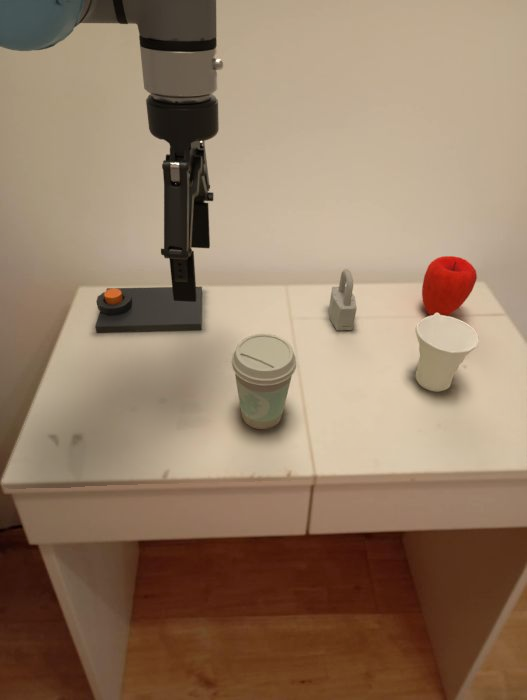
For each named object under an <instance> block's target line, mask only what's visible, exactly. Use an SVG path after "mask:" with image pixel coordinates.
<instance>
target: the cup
mask: <svg viewBox="0 0 527 700" xmlns="http://www.w3.org/2000/svg"><path fill="white" fill-rule="evenodd" d="M415 333H416V338H417V342H418V347H419V348H418V351H419V357H418V361H417V362H418V363H417V368H416V372H415V380H416V381H417V383H418V384H419V386H420V387H422V388H423V389H425V390H427V391H429V392H439V393H440V392H443V391H446V390H448V389H449V388H450V387H451V386H452V382H453V378H454V376H455V373H456V371H458V368H459V367H460V365H461V364H462V363H463V361H464V360H465V358H466V357H467V356H469V354H470V353H472V352H473V351H474V350H475V349H476V348H477V347H478V345H479V339H480V338H479V335H478V333H477V332H476V330H475V329H474V328H473V327H472V326H471V325H469V324H468V323H467V322H465V321H463V320H461V319H459V318H456V317H453V316H450V315H449V316H443V315H440V314H439V313H435V314H434V315H432V316H431V315H428V316H426V317H424V318H422V319H420V320H419V321H418V323H417V324H416V327H415Z"/></svg>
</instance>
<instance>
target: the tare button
mask: <svg viewBox="0 0 527 700" xmlns="http://www.w3.org/2000/svg"><path fill="white" fill-rule="evenodd" d="M104 292H105V293H104V297H105V301H106V303H107V304H118V303H120V302H122V300H123V298H122V292H121V291H120V290H119V289H109V290H107V291H106V290H105V291H104Z"/></svg>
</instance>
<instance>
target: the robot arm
mask: <svg viewBox="0 0 527 700" xmlns="http://www.w3.org/2000/svg"><path fill="white" fill-rule="evenodd" d="M80 24H120V25H129V24H132V25H137V30H138V35H139V36H138V39H139V49H140V50H139V51H140V59H141V71H142V81H143V89H144V90H145V91H146V92H147V93H148V94H149V95H148V96H147V98H146V99H145V103H146V104H145V105H146V115H147V121H148V123H147V124H148V130H149V133H150V134H151V135H152V136H153V137H155V138H156V139H158V140H163V141H165V142H166V143H168V144H169V153H166V155H165V159H164V160H163V161H162V163H161V167H162V168H161V169H162V173H163V174H162V175H163V248H160V255H161V256H163V258H164V259H169V267H170V268H169V269H170V279H171V287H172V289H173V299H174V301H189V302H196V299H197V297H196V287H197V283H196V281H197V280H196V267H195V251H194V250H193V248H195V249H210V247H211V241H210V240H211V238H210V213H209V212H210V210H209V209H210V208H209V202H214V197H215V196H214V195H215V194H214V192H210V189H211V184H210V178H209V170H208V162H207V153H206V145H205V143H206V141H208V140H211V139H213V138H214V137H216V136H217V134H218V133H219V129H220V127H219V100H218V99H217V97H216V95H214V93H215V92H216V91H217V90H218V72H217V71H222V70H223V69H224V62H223V59H221V58H216V54H217V53H218V52H217V47H218V46H217V0H0V48H3V49H7V50H11V51H17V52H32V51H42V50H46V49H49V48H52V47H55V46H56V45H57V44H59V43H60V42H62V41H65V39H67V37H69V36H70V35H71V34H72V32H74V29H75V28H77V26H79V25H80Z"/></svg>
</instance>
